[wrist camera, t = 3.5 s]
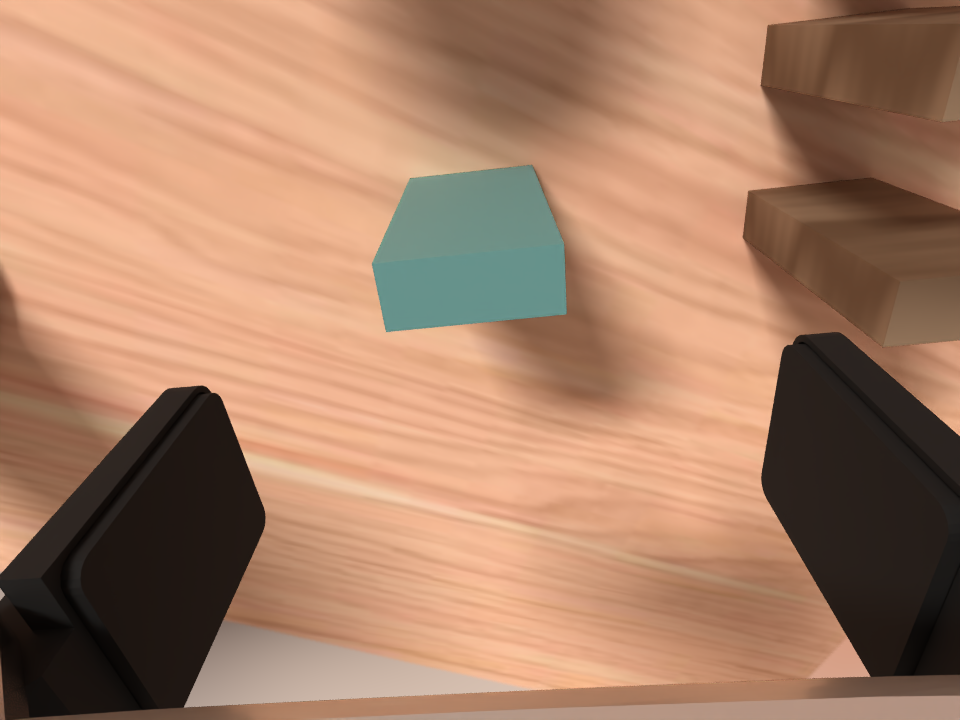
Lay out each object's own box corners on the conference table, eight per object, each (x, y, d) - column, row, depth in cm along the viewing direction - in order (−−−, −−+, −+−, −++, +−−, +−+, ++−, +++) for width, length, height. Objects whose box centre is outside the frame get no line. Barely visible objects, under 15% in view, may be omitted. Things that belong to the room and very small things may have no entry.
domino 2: (861, 225, 25) (1067, 330, 16) (742, 237, 25) (882, 347, 17) (871, 177, 24) (1096, 262, 15) (748, 190, 24) (900, 281, 16)
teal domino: (535, 213, 25) (566, 314, 16) (417, 226, 25) (386, 332, 16) (532, 165, 24) (564, 243, 15) (410, 178, 24) (372, 263, 15)
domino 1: (895, 69, 22) (1167, 97, 13) (760, 85, 22) (941, 122, 14) (909, 8, 21) (1212, -5, 12) (767, 25, 21) (968, 23, 13)
